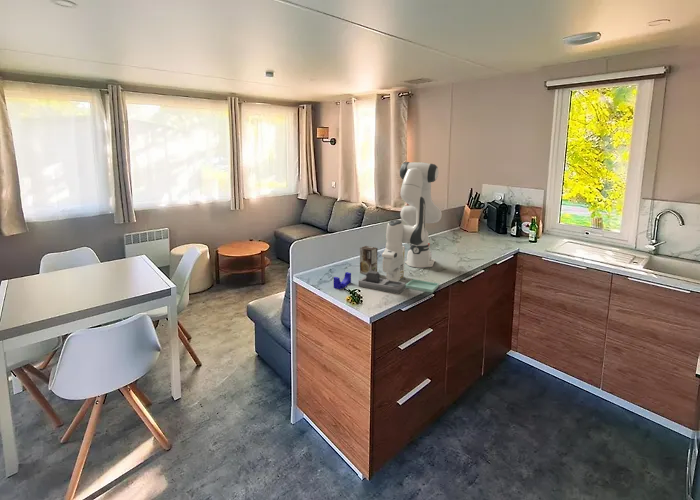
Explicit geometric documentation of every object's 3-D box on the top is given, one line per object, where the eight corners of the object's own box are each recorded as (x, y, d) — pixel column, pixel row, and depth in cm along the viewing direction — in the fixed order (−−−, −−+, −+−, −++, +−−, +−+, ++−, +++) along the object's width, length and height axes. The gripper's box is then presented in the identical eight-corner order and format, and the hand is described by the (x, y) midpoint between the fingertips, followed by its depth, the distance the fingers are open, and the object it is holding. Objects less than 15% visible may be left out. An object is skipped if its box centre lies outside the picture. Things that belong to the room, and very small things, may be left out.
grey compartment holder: (366, 281, 221) (366, 268, 219) (405, 288, 210) (406, 274, 208) (358, 286, 213) (358, 272, 211) (398, 293, 202) (399, 279, 200)
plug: (389, 277, 210) (390, 267, 209) (400, 279, 207) (400, 269, 206) (386, 279, 206) (386, 269, 205) (396, 281, 204) (397, 271, 202)
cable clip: (340, 289, 209) (340, 279, 207) (333, 287, 211) (333, 277, 210) (353, 283, 218) (353, 273, 216) (346, 282, 221) (346, 272, 219)
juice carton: (397, 280, 222) (398, 248, 218) (386, 277, 228) (386, 246, 223) (405, 277, 228) (406, 246, 223) (393, 274, 233) (394, 243, 229)
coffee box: (377, 273, 235) (378, 247, 231) (371, 276, 230) (371, 249, 226) (365, 270, 241) (366, 245, 237) (359, 273, 236) (359, 247, 232)
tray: (412, 281, 221) (412, 279, 220) (438, 286, 213) (439, 283, 213) (404, 287, 211) (404, 285, 211) (432, 292, 204) (432, 290, 203)
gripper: (396, 246, 213) (395, 270, 217) (380, 254, 196) (379, 280, 199) (406, 247, 210) (405, 272, 214) (391, 256, 193) (391, 282, 196)
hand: (393, 276), depth 206 cm, fingers closed on plug, 4 cm apart
